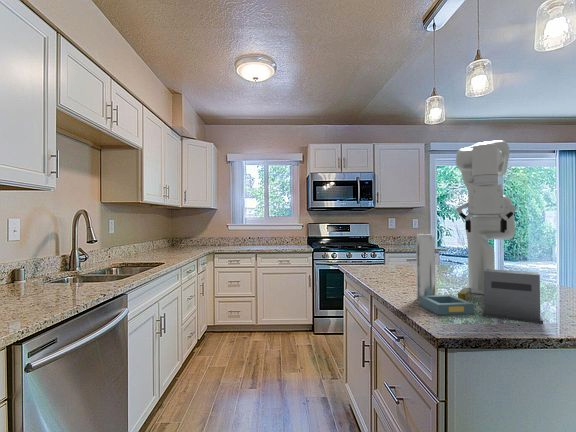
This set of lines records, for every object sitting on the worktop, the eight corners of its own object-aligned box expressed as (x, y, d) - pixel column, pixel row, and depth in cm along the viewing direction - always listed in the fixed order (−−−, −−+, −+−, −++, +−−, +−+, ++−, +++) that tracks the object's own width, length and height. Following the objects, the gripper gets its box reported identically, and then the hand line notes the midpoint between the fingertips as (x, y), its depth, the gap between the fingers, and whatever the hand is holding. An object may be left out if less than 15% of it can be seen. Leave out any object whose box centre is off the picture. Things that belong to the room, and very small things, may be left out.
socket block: (451, 304, 113) (451, 294, 113) (474, 314, 101) (474, 303, 101) (419, 305, 112) (418, 295, 112) (438, 316, 100) (438, 305, 100)
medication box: (464, 297, 125) (463, 287, 125) (472, 298, 123) (471, 287, 123) (457, 303, 116) (457, 292, 116) (466, 304, 114) (465, 293, 114)
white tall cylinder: (437, 302, 117) (436, 234, 117) (418, 301, 118) (417, 234, 118) (433, 297, 123) (432, 233, 123) (415, 297, 124) (414, 233, 125)
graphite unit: (482, 310, 106) (481, 268, 106) (539, 316, 98) (538, 271, 99) (482, 316, 99) (481, 271, 100) (543, 324, 92) (542, 275, 92)
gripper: (456, 181, 106) (457, 232, 106) (519, 178, 99) (519, 233, 99) (455, 183, 113) (455, 231, 113) (513, 180, 106) (513, 231, 106)
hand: (485, 232), depth 106 cm, fingers open, 9 cm apart
